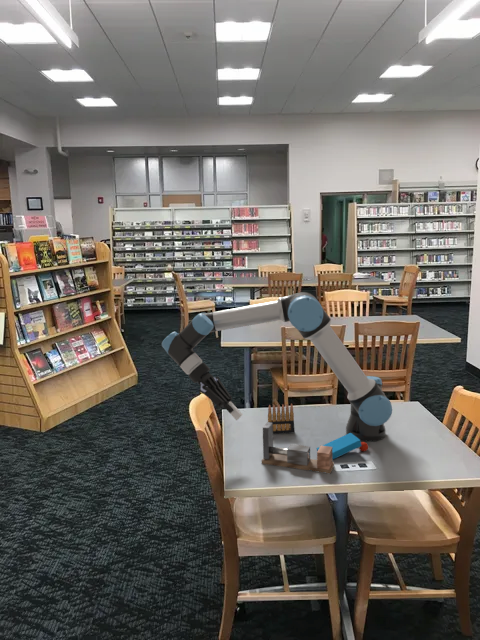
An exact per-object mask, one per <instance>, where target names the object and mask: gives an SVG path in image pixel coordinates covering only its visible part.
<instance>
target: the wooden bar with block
mask: <svg viewBox="0 0 480 640" xmlns="http://www.w3.org/2000/svg"><path fill="white" fill-rule="evenodd" d="M319 447H320V448H319V450H318V452H316V459H313V458H311V455H310V456H309V459H308V452H310V453H311V446H309V445H301V444H294V443H290V444H289V445H288V447H287V448H286V449H287V456H285V455H278V454H273V455H272V456H271V457H270V459H263V458H262V459H261V464H263V465H269V466H277V467H284V468H289V467H290V469H296V468H297V470H303V471H309V470H312V471H311V472H316V471H319V472H318V473H323V472H326V473H325V474H332V471H333V469H334V467H335V463H334V462H335V461H333V459H332V447H329V446H323V445H320V446H319ZM333 466H334V467H333Z"/></svg>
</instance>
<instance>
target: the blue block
mask: <svg viewBox="0 0 480 640" xmlns="http://www.w3.org/2000/svg"><path fill="white" fill-rule="evenodd" d="M322 446H329V447H332V460H335V459H337V458H339V457H340V456H343V455H345V454H347V453H349V452H351V451H354V450H355V449H359V451H361V452H367V451H368V449H369V444H368V443H367V442H366V441H360V439H358V438H357V437H356V436H354V435H353V434H352V433H349V434H345V435H342V436H340V437H338V438H335V439H334V440H331V441H329V442H327V443H325V444H322ZM319 448H320V446H319V447H316V451H317V452H318V450H319ZM317 452H316V453H317Z"/></svg>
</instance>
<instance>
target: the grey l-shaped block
mask: <svg viewBox="0 0 480 640" xmlns="http://www.w3.org/2000/svg"><path fill="white" fill-rule="evenodd" d="M262 449H263V450H262V452H263V453H262V455H263V457H262V459H270V457H271V456H272V455H273V454H278V455H285V456H287V448H286V447H285V448H284V447H277V446H274V434H273V423H270V422H268V421H267V422H266V423H265V425H264V426H262ZM309 456H310V457H311V451H310V452H308V459H309Z"/></svg>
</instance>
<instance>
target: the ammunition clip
mask: <svg viewBox="0 0 480 640" xmlns="http://www.w3.org/2000/svg"><path fill="white" fill-rule="evenodd" d="M272 405H273V406H271V404H269V405H268V409H267V410H268V411H267V413H268V414H267V422H270V423H273V435H276V434H278V435H279V434H294V433H296V432H295V431H296V430H295V412H294V405H293V403H290V406H289V403H287V404H286V405H285V404H283V403H282V404H281V405H282V406H280V404H278V405H277V407H276V405H275V404H272ZM289 407H290V408H289Z"/></svg>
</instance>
